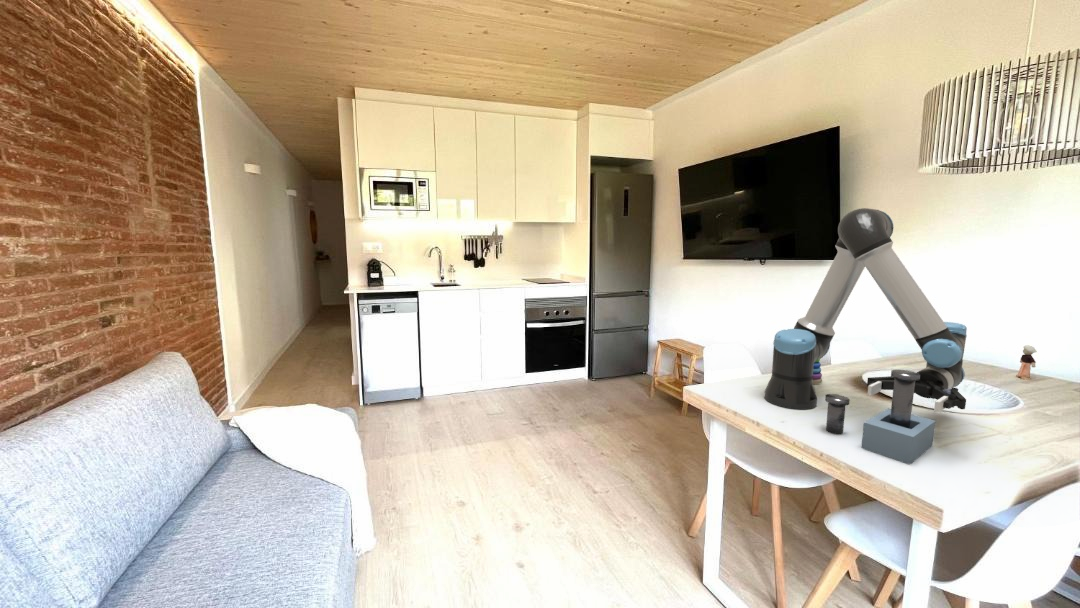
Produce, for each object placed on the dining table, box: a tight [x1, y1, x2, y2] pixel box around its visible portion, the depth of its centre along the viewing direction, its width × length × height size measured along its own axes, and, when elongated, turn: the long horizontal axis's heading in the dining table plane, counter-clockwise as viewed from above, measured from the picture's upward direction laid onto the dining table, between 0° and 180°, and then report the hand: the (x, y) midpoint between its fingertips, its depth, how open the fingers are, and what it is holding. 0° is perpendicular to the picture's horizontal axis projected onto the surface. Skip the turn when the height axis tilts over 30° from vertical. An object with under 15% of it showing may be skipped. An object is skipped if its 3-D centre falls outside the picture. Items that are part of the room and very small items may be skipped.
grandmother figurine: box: [1015, 344, 1037, 381], centre depth 160 cm, size 8×4×13 cm, turn 169°
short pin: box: [824, 393, 851, 435], centre depth 120 cm, size 6×6×10 cm
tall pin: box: [890, 369, 920, 428], centre depth 110 cm, size 6×6×20 cm
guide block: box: [861, 407, 937, 465], centre depth 111 cm, size 16×10×7 cm, turn 123°
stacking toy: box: [812, 359, 823, 385], centre depth 160 cm, size 8×8×19 cm
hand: (901, 398), depth 108 cm, fingers open, 13 cm apart
